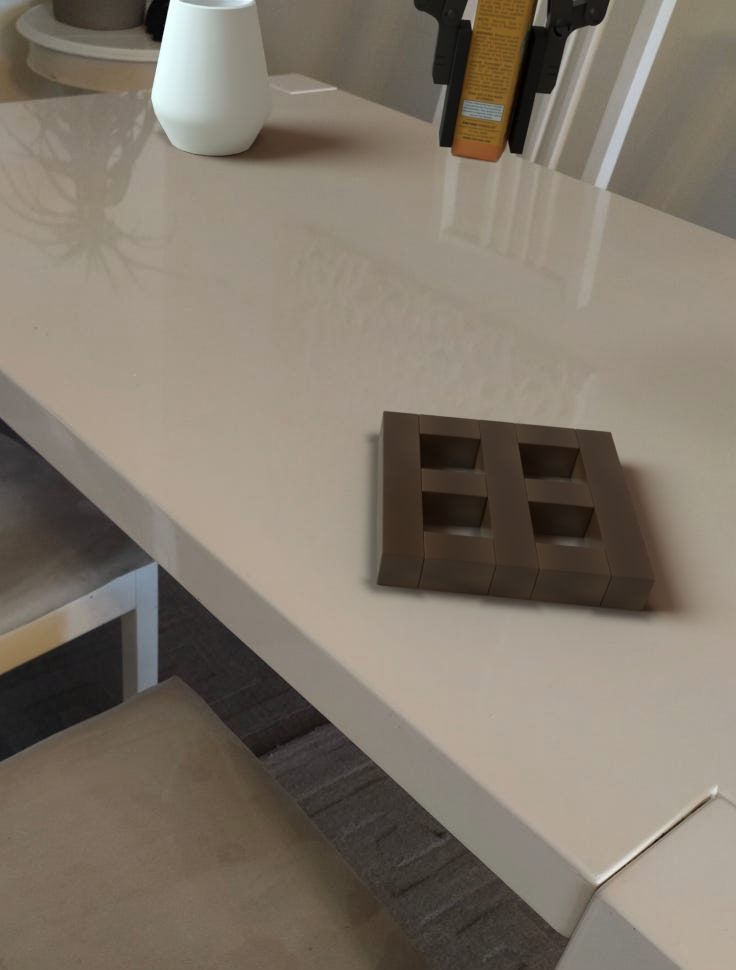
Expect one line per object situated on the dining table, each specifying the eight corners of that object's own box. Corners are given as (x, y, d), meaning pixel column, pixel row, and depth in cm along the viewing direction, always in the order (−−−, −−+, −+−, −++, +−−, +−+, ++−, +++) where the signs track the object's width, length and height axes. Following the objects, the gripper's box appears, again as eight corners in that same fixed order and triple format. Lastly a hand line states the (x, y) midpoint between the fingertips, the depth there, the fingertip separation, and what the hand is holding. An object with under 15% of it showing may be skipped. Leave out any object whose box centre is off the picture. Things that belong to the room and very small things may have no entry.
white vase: (127, 136, 110) (121, -9, 101) (217, 115, 117) (220, -23, 107) (204, 171, 104) (205, 19, 94) (294, 147, 110) (304, 3, 101)
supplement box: (501, 165, 62) (536, -22, 55) (448, 157, 63) (476, -28, 56) (511, 149, 64) (545, -33, 57) (459, 141, 65) (487, -38, 58)
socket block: (598, 469, 67) (611, 431, 65) (638, 619, 56) (655, 580, 54) (377, 448, 67) (383, 410, 65) (374, 592, 57) (381, 553, 54)
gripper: (406, -395, 44) (347, 150, 61) (783, -370, 44) (619, 176, 60) (408, -386, 50) (352, 113, 66) (743, -363, 49) (603, 137, 65)
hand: (479, 142), depth 63 cm, fingers closed on supplement box, 4 cm apart
